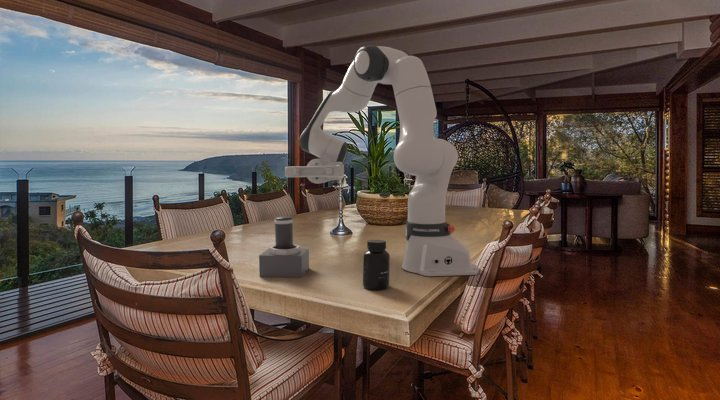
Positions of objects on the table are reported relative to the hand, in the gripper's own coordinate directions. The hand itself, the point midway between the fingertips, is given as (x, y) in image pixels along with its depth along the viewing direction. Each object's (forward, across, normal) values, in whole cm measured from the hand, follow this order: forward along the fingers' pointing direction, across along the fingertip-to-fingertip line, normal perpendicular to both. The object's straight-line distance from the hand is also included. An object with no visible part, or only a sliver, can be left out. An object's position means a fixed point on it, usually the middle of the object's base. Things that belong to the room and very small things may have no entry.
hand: (310, 171), depth 138 cm
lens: (+18, -5, +23) cm, 29 cm away
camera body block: (+18, -5, +29) cm, 34 cm away
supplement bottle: (+30, +22, +30) cm, 47 cm away
